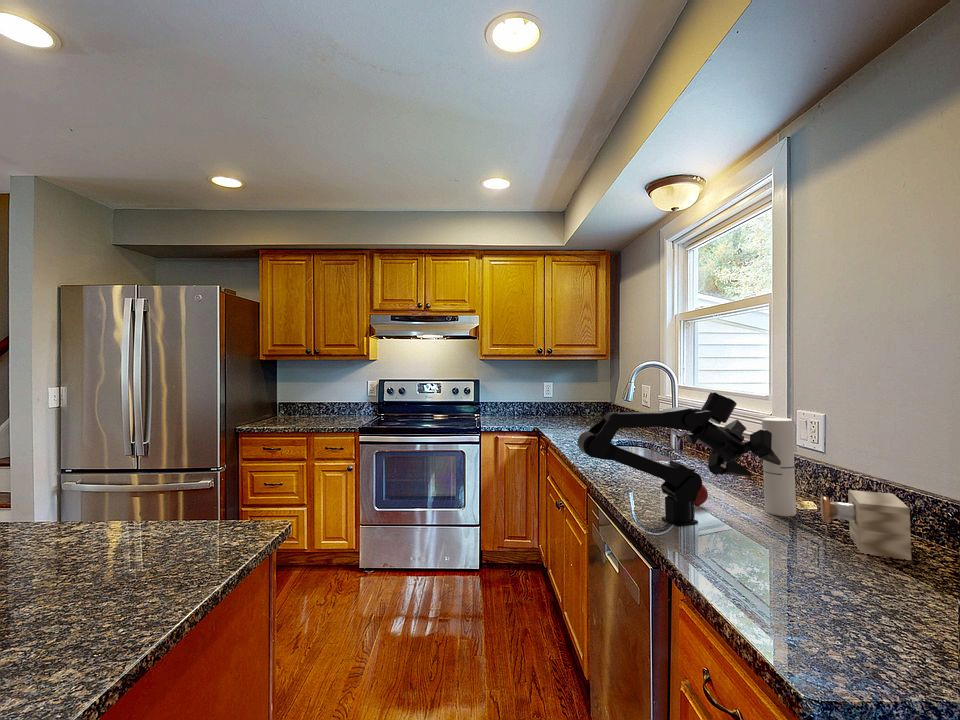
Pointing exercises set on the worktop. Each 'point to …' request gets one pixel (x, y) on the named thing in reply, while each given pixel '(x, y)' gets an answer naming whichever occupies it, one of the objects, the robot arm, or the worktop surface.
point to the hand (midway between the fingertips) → (765, 469)
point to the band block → (880, 524)
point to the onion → (701, 496)
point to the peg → (837, 510)
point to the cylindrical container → (780, 469)
